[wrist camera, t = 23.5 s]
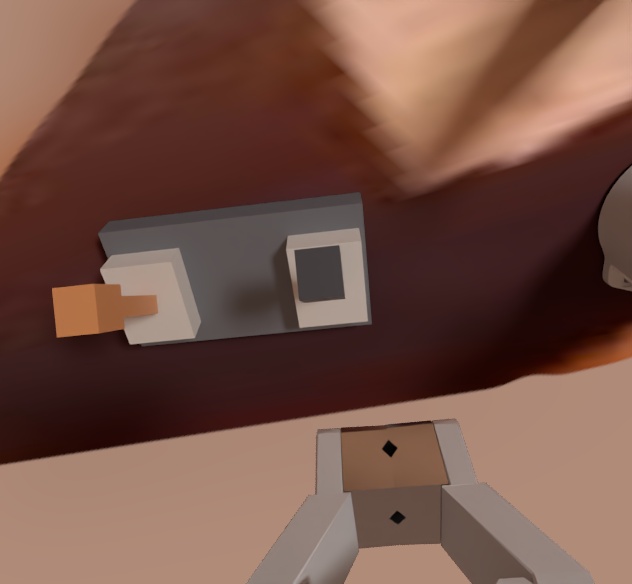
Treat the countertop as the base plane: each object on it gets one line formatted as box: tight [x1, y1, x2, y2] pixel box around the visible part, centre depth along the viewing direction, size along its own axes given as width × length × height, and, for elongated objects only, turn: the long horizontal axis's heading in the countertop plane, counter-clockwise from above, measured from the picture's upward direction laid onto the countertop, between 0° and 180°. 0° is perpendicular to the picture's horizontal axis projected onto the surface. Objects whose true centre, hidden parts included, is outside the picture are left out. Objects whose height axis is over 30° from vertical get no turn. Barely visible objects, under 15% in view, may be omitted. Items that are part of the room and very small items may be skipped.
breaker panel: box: [98, 192, 372, 346], centre depth 50 cm, size 26×14×6 cm, turn 97°
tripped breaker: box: [52, 284, 158, 337], centre depth 41 cm, size 3×4×12 cm
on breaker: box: [294, 245, 345, 303], centre depth 40 cm, size 3×4×12 cm
